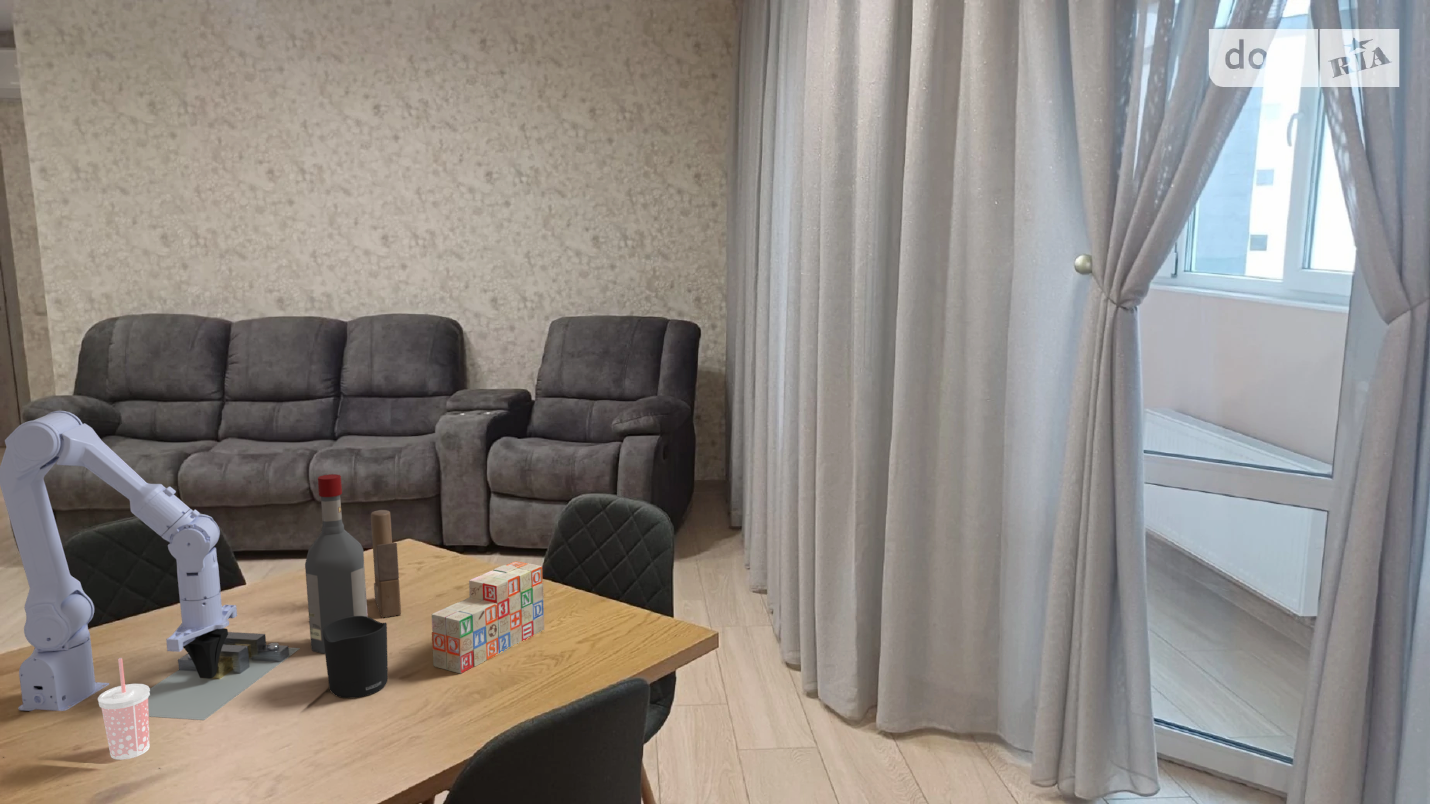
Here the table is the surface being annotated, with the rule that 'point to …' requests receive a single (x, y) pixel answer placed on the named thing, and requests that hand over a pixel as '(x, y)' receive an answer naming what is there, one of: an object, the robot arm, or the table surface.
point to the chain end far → (259, 646)
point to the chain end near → (234, 651)
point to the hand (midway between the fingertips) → (207, 676)
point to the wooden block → (385, 565)
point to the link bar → (227, 664)
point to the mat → (202, 691)
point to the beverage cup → (126, 718)
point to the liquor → (333, 567)
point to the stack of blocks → (489, 617)
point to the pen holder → (356, 656)
